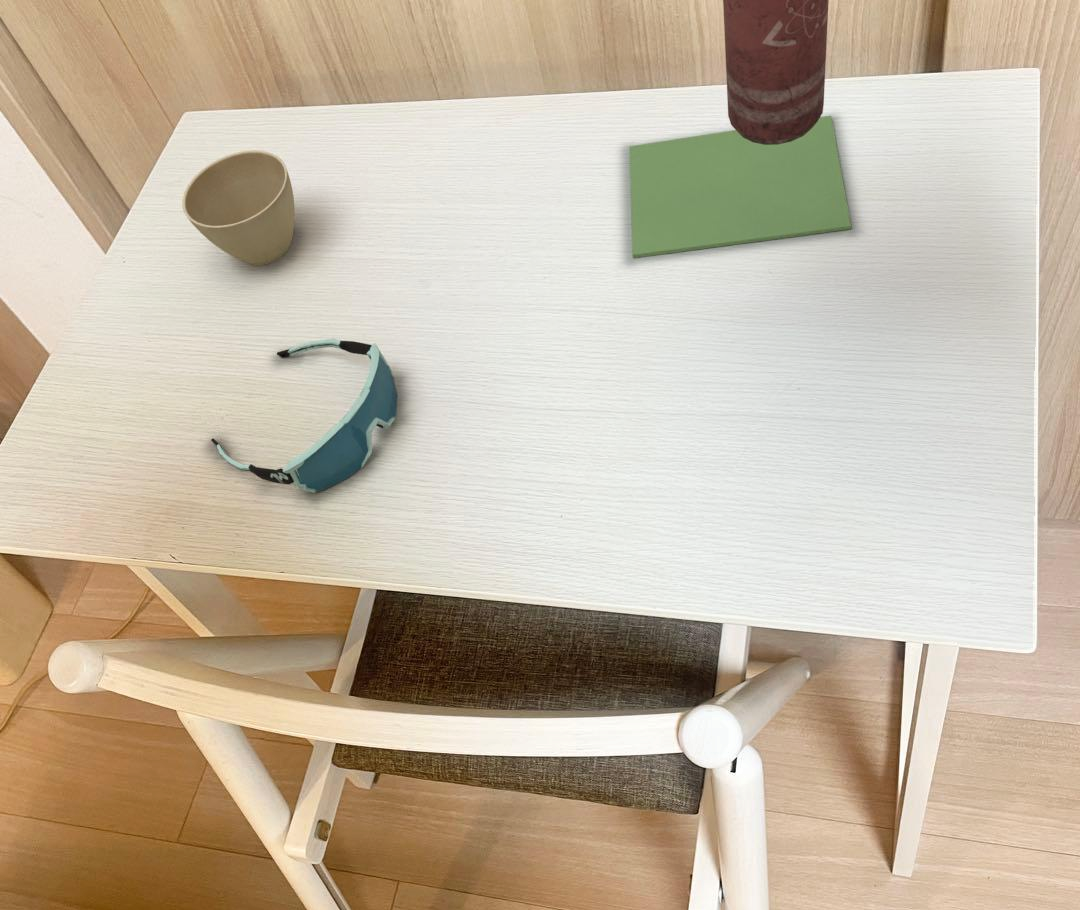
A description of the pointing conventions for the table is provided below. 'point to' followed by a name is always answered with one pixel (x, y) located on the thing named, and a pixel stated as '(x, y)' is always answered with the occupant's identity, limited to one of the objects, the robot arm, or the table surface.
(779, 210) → the felt cloth
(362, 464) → the sunglasses
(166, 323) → the table surface
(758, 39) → the can
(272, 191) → the flower pot
